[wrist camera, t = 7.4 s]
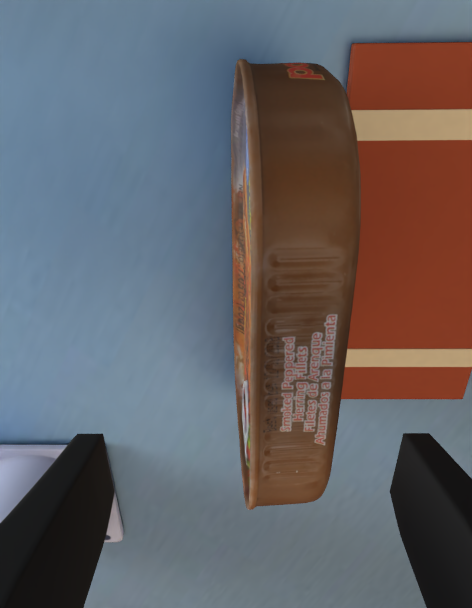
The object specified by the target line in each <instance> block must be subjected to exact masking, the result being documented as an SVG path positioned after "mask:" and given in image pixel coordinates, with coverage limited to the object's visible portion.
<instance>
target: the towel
mask: <svg viewBox="0 0 472 608" xmlns="http://www.w3.org/2000/svg"><path fill="white" fill-rule="evenodd" d="M347 97H348V100H349V104H350V107H351V111H352V115H353V119H354V124H355V129H356V134H357V143H358V153H359V163H360V173H361V227H360V241H359V254H358V263H357V272H356V281H355V289H354V297H353V308H352V314H351V322H350V331H349V339H348V347H347V355H346V363H345V370H344V378H343V387H342V393H341V399H463V396H464V393H465V389H466V386H467V383H468V380H469V376H470V373H471V370H472V42H429V43H353V44H352V46H351V56H350V66H349V75H348V85H347Z"/></svg>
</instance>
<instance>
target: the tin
mask: <svg viewBox="0 0 472 608" xmlns="http://www.w3.org/2000/svg"><path fill="white" fill-rule="evenodd" d="M231 157H232V164H231V171H232V172H231V188H232V259H233V328H234V353H235V357H234V361H235V385H236V400H237V413H238V429H239V439H240V458H241V466H242V467H241V470H242V478H243V488H244V498H245V504H246V508H247V509H249V510H251V509H253V508H255V507H256V506H269V505H284V504H298V503H307V502H312V501H315V500H317V499H318V498H320V497H321V495H322V494H323V493H324V491H325V489H326V486H327V483H328V480H329V477H330V472H331V466H332V459H333V452H334V444H335V438H336V431H337V424H338V417H339V408H340V401H341V393H342V387H343V378H344V370H345V363H346V355H347V347H348V339H349V331H350V322H351V314H352V308H353V297H354V289H355V281H356V272H357V263H358V254H359V241H360V227H361V173H360V163H359V153H358V143H357V134H356V129H355V124H354V119H353V115H352V111H351V107H350V104H349V100H348V97H347V95H346V92H345V90H344V88H343V86H342V85H341V83H340V82H339V81H338V80H337V79H336V78H335V77H334V76H333V75H332V74H331V73H330V72H329V71H328V70H327V69H325V68H324V67H323V66H321V65H318V64H313V63H280V64H250V63H249V62H247V61H246V60H244V59H240V60H238V61H237V63H236V69H235V77H234V89H233V100H232V113H231Z"/></svg>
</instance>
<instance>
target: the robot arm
mask: <svg viewBox="0 0 472 608" xmlns="http://www.w3.org/2000/svg"><path fill="white" fill-rule="evenodd" d="M390 494H391V498H392V502H393V507H394V511H395V515H396V519H397V523H398V527H399V531H400V535H401V538H402V541H403V544H404V547H405V549H406V552H407V555H408V558H409V560H410V563H411V566H412V569H413V572H414V574H415V577H416V580H417V582H418V585H419V588H420V591H421V593H422V596H423V599H424V601H425V604H426V607H427V608H472V479H471V478H470V477H469V476H468V475H467V473H466V472H465V471H464V470H463V469H462V468H461V467H460V466H459V465H458V464H457V463H456V462H455V461H454V460H453V458H452V457H451V456H450V455H449V454H448V453H447V452H446V451H445V450H444V449H443V448H442V447H441V445H440V444H439V443H438V442H437V441H436V440H435V439H434V438H433V437H432V436H431V435H430V434H429V433H405V434H403V438H402V442H401V446H400V450H399V455H398V459H397V463H396V468H395V472H394V476H393V480H392V485H391V489H390ZM123 535H124V530H123V526H122V521H121V516H120V511H119V507H118V502H117V497H116V492H115V488H114V483H113V478H112V473H111V468H110V464H109V459H108V454H107V451H106V446H105V442H104V437H103V434H77V435H76V436H75V437H74V438H73V439H72V440H71V442H70V443H69V444H68V445H0V608H83V607H84V604H85V601H86V598H87V595H88V591H89V588H90V585H91V582H92V579H93V576H94V573H95V570H96V566H97V563H98V560H99V557H100V554H101V550H102V547H103V544H104V542H119V541H121V540H122V539H123Z"/></svg>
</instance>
